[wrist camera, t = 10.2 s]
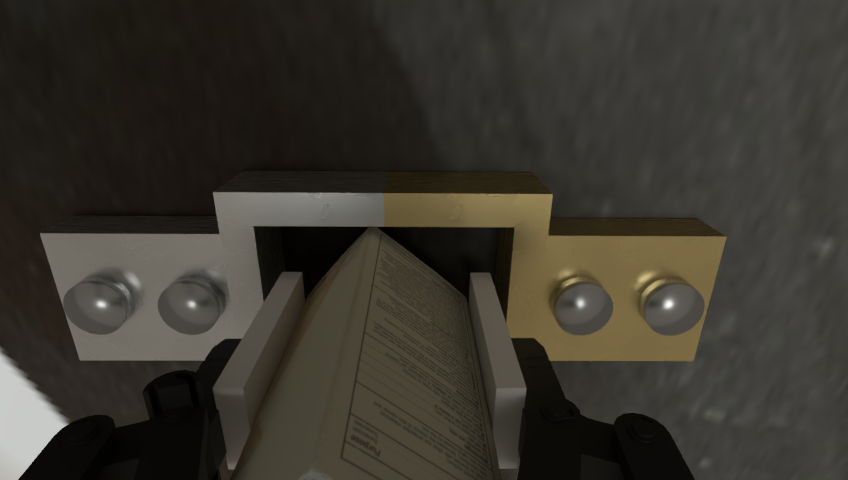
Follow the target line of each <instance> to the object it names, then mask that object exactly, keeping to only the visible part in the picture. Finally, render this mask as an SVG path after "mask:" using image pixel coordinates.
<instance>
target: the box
mask: <svg viewBox="0 0 848 480" xmlns="http://www.w3.org/2000/svg"><path fill="white" fill-rule="evenodd" d="M230 480H502V479H501V474H500V469H499V463H498V458H497V452H496V447H495V442H494V437H493V432H492V426H491V421H490V416H489V411H488V405H487V400H486V395H485V390H484V385H483V380H482V374H481V370H480V364H479V359H478V354H477V349H476V343H475V338H474V333H473V328H472V322H471V317H470V312H469V306H468V302H467V299H466V297H465V296H464V295H463V294H462V293H460V292H459V291H458V290H457V289H456V288H455V287H453V286H452V285H451V284H450V283H449V282H447V281H446V280H445V279H444V278H443V277H441V276H440V275H439V274H438V273H436V272H435V271H434V270H433V269H431V268H430V267H429V266H427V265H426V264H425V263H423V262H422V261H421V260H419V259H418V258H417V257H416V256H414V255H413V254H412V253H410V252H409V251H408V250H407V249H405V248H404V247H403V246H401V245H400V244H399V243H397V242H396V241H395V240H393V239H392V238H390V237H389V236H388V235H386V234H385V233H384V232H382V231H381V230H380V229H378V228H377V227H369V228H368V229H367V230H366V231H365V232H364V233H363V234H362V235H361V236H360V237H359V238H358V239H357V240H356V241H355V242H354V243H353V244H352V245H351V246H350V247H349V248H348V249H347V251H346V252H345V253H344V254H343V255H342V256H341V257H340V258H339V259H338V261H337V262H336V263H335V264H334V265H333V266H332V267H331V268H330V270H329V271H328V272H327V273H326V274H325V276H324V277H323V278H322V279H321V280H320V281H319V283H318V284H317V285H316V286H315V288H314V289H313V290H312V291H311V292H310V294H309V295H308V297H307V299H306V301H305V303H304V306H303V308H302V310H301V313H300V315H299V318H298V320H297V322H296V325H295V327H294V329H293V332H292V334H291V336H290V339H289V341H288V344H287V346H286V348H285V351H284V354H283V356H282V358H281V361H280V363H279V365H278V368H277V370H276V372H275V375H274V377H273V380H272V382H271V385H270V387H269V389H268V391H267V394H266V396H265V398H264V400H263V403H262V405H261V408H260V410H259V412H258V415H257V417H256V419H255V422H254V424H253V426H252V429H251V431H250V433H249V436H248V438H247V441H246V443H245V445H244V448H243V450H242V453H241V455H240V458H239V460H238V462H237V464H236V467H235V469H234V471H233V474H232V476H231V479H230Z"/></svg>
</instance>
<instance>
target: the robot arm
mask: <svg viewBox="0 0 848 480" xmlns="http://www.w3.org/2000/svg"><path fill="white" fill-rule="evenodd" d="M304 303H305V294H304V284H303V273H302V272H282V273H281V275H280V276H279V278H278V280H277V281H276V283H275V285H274V286H273V288H272V290H271V291H270V293H269V295H268V296H267V298H266V300H265V301H264V303H263V305H262V306H261V308H260V310H259V311H258V313H257V315H256V316H255V318H254V320H253V321H252V323H251V325H250V326H249V328H248V330H247V331H246V333H245V335H244V336H243V338H242V339H224V340H223V341H221V342H220V343H219V344H217V345H216V346H214V347H213V348H212V349H211V351H210V352H209V354H208V355H207V357H206V358H205V361H203V363H202V364H201V365H200V367H199V370H197V371H196V373H195V372H193V371H188V370H181V371H173V372H170V373H166V374H164V375H162V376H160V377H158V378H156V379H154V380H153V381H152V382H150V383H149V384H148V385H147V386H146V387H145V389H144V391H143V396H144V400H145V404H146V407H147V411H148V415H149V420H147V421H143V422H140V423H136V424H131V425H127V426H122V427H118V428H116V427H115V424H114V420H113V419H112V418H110V417H109V416H106V415H94V416H88V417H84V418H82V419H79V420H76V421H74V422H72V423H71V424H69V425H67V426H65V427H64V428H62V429H61V430H60V431H59V432H58V433H57V434H56V435H55V436H54V437H53V438H52V439H51V441H50V442H49V443H48V444H47V446H46V447H45V448H44V449H43V450H42V452H41V453H40V454H39V455H38V456H37V458H36V459H35V460H34V461H33V462H32V464H31V465H30V466H29V467H28V469H27V470H26V471H25V472H24V474H23V475H22V476H21V477H20V478H19V480H221V477H220V472H219V467H220V465H221V463H222V460H223V458H224V456H225V454H226V459H227V464H228V469H235V467H236V464H237V462H238V460H239V458H240V455H241V453H242V450H243V448H244V445H245V443H246V441H247V438H248V436H249V433H250V431H251V429H252V426H253V424H254V422H255V419H256V417H257V415H258V412H259V410H260V408H261V405H262V403H263V400H264V398H265V396H266V394H267V391H268V389H269V387H270V385H271V382H272V380H273V377H274V375H275V372H276V370H277V368H278V365H279V363H280V361H281V358H282V356H283V354H284V351H285V348H286V346H287V344H288V341H289V339H290V336H291V334H292V332H293V329H294V327H295V325H296V322H297V320H298V318H299V315H300V313H301V310H302V308H303V306H304ZM468 306H469V312H470V317H471V322H472V328H473V333H474V338H475V343H476V349H477V354H478V359H479V364H480V370H481V374H482V380H483V385H484V390H485V395H486V400H487V405H488V411H489V416H490V421H491V426H492V432H493V437H494V442H495V447H496V452H497V458H498V463H499V469H517V468H518V459H519V456H520V460H521V461H520V467H519V473H518V479H517V480H695V479H694V477H693V475H692V474H691V472H690V470H689V468H688V466H687V464H686V462H685V461H684V459H683V457H682V455H681V453H680V451H679V450H678V448H677V446H676V444H675V442H674V440H673V438H672V437H671V435H670V433H669V432H668V431H667V429H666V428H665V427H664V426H663V425H662V424H660V423H659V422H658V421H656V420H655V419H653V418H650V417H648V416H646V415H642V414H637V413H627V414H623V415H621V416H619V417H617V419H616V421H615V422H614V425H612V424H608V423H604V422H599V421H595V420H592V419H589V418H587V417H585V416H583V415H581V414H580V410H579V409H578V408H577V407H576V406H575V404H574V403H572V402H570V401H569V400H567V399H566V398H565V396H564V393H563V391H562V389H561V386H560V384H559V381H558V379H557V377H556V374H555V372H554V369H552V365H551V362H550V360H549V357H548V355H547V353H546V350H545V348H544V347H543V346H542V345H541V344H540V343H539V342H538V341H537V340H536V339H535V338H511V337H510V334H509V331H508V328H507V325H506V321H505V318H504V315H503V312H502V309H501V306H500V303H499V299H498V296H497V293H496V290H495V287H494V284H493V280H492V277H491V274H490V273H470V285H469V304H468Z"/></svg>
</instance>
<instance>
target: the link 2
mask: <svg viewBox="0 0 848 480" xmlns="http://www.w3.org/2000/svg"><path fill="white" fill-rule="evenodd" d="M552 198H553V194H552V193H551V192H550V190H549V189H548V188H547V187H546V186H545V185H544V184H543V183H542V182H541V181H540V180H539V178H538V177H537V176H536V175H535V174H534V173H533V172H389V173H388V177H387V181H386V186H385V190H384V227H499V230H498V244H497V258H496V271H495V285H494V287H495V290H496V293H497V296H498V299H499V303H500V306H501V309H502V312H503V315H504V318H505V321H506V325H507V328H508V331H509V334H510V337H511V338H535V339H536V340H537V341H538V342H539V343H540V344H541V345H542V346H543V347H544V348H545V350H546V353H547V355H548V357H549V360H550V361H693V360H694V357H695V353H696V349H697V346H698V342H699V338H700V334H701V331H702V327H703V323H704V319H705V316H706V312H707V308H708V305H709V301H710V297H711V293H712V290H713V286H714V282H715V278H716V275H717V271H718V267H719V264H720V260H721V256H722V252H723V249H724V245H725V241H726V238H727V236H725V235H723V234H722V233H720V232H719V231H717V230H715V229H714V228H712V227H710V226H709V225H707V224H705V223H704V222H702V221H701V220H699V219H669V218H550V215H551V207H552Z"/></svg>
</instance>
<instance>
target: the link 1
mask: <svg viewBox="0 0 848 480" xmlns="http://www.w3.org/2000/svg"><path fill="white" fill-rule="evenodd" d="M388 173H389V172H386V171H242V172H241V173H239V174H238V175H237V176H235V177H234V178H232V179H231V180H229V181H228V182H227V183H225V184H224V185H222V186H221V187H219V188H218V189H217V190H215V191H214V192H213V197H214V203H215V209H216V215H217V216H86V215H76V216H74V217H72V218H70V219H68V220H66V221H64V222H62V223H60V224H58V225H56V226H54V227H52V228H50V229H48V230H46V231H44V232H42V233H40V236H41V239H42V242H43V245H44V248H45V251H46V255H47V258H48V261H49V264H50V267H51V270H52V273H53V277H54V280H55V283H56V286H57V289H58V292H59V296H60V299H61V302H62V305H63V308H64V311H65V314H66V318H67V321H68V324H69V327H70V330H71V333H72V337H73V340H74V343H75V346H76V349H77V352H78V355H79V359H80V360H205V358H206V357H207V355H208V354H209V352H210V351H211V349H212V348H213V347H214V346H216V345H217V344H219V343H220V342H221V341H223V340H224V339H242V338H243V336H244V335H245V333H246V331H247V330H248V328H249V326H250V325H251V323H252V321H253V320H254V318H255V316H256V315H257V313H258V311H259V310H260V308H261V306H262V305H263V303H264V301H265V300H266V298H267V296H268V295H269V293H270V291H271V290H272V288H273V286H274V285H275V283H276V281H277V280H278V278H279V276H280V275H281V273H282V272H285V263H284V254H283V245H282V236H281V227H280V226H337V227H384V190H385V186H386V181H387V177H388Z"/></svg>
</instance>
